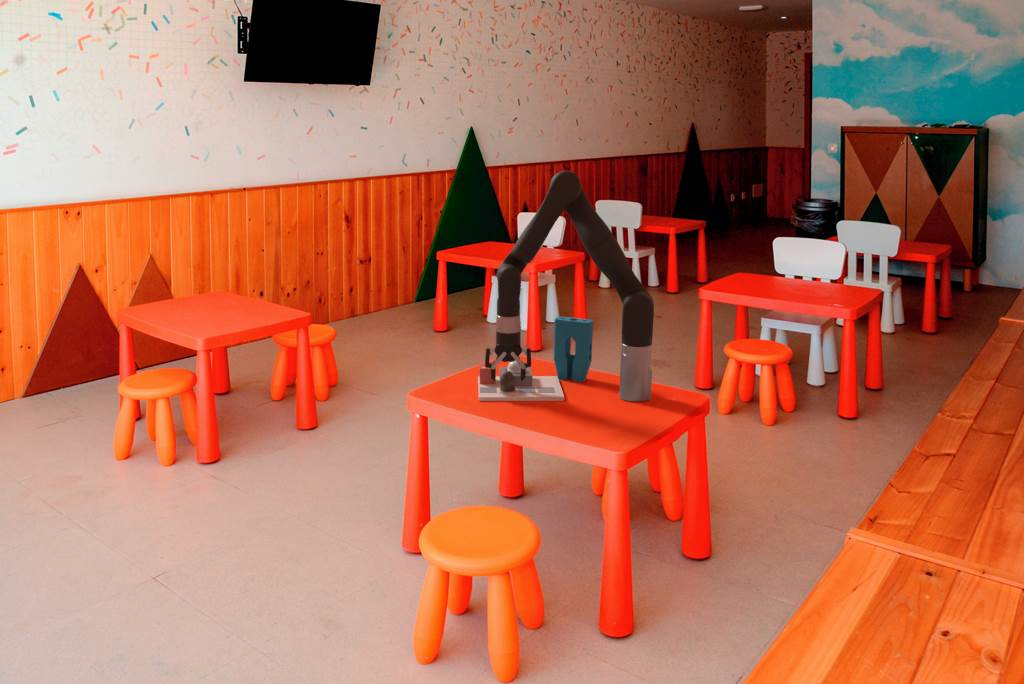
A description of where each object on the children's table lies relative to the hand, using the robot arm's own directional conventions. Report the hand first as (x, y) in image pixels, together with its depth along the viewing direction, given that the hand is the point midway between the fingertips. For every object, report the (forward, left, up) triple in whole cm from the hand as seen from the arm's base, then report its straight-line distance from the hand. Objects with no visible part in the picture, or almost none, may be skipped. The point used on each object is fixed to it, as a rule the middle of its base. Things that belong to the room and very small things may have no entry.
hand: (508, 380), depth 281 cm
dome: (-3, -9, -1) cm, 10 cm away
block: (-22, -16, -5) cm, 28 cm away
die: (+6, -9, -3) cm, 11 cm away
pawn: (0, 0, -3) cm, 3 cm away
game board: (-4, -4, -5) cm, 7 cm away
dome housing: (-3, -9, -3) cm, 10 cm away
